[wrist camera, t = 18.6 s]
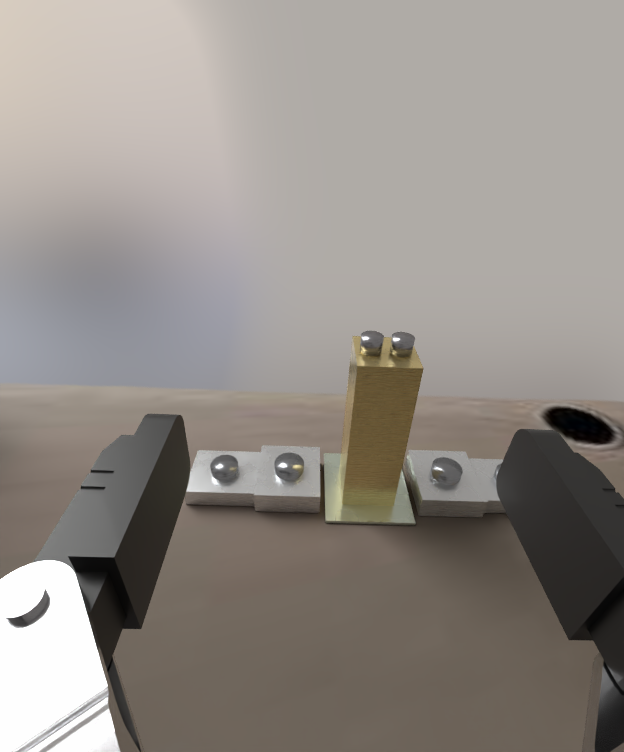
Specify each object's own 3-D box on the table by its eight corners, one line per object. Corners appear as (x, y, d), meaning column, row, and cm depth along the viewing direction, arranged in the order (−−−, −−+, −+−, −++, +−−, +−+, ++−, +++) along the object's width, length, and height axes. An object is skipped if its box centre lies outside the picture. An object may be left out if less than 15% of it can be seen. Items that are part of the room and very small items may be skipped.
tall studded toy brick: (341, 504, 35) (359, 350, 26) (339, 466, 38) (354, 321, 30) (393, 506, 35) (426, 353, 26) (386, 468, 38) (413, 324, 30)
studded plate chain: (181, 518, 33) (176, 495, 32) (203, 451, 40) (200, 430, 38) (556, 529, 33) (569, 507, 32) (516, 461, 40) (525, 440, 39)
